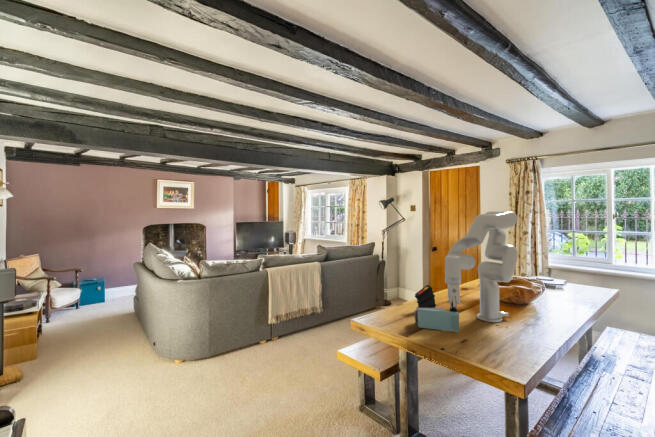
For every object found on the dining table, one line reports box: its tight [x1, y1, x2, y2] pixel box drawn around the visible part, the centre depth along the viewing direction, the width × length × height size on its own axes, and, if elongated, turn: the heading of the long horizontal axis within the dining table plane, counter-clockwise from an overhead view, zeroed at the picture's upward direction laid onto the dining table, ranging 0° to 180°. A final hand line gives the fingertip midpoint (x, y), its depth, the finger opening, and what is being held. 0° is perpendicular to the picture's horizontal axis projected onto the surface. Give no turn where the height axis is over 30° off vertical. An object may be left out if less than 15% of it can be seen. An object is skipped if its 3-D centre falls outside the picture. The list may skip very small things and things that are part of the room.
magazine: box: [414, 284, 437, 308], centre depth 183 cm, size 4×13×15 cm, turn 113°
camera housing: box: [413, 307, 446, 325], centre depth 161 cm, size 15×7×8 cm, turn 85°
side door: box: [417, 308, 460, 333], centre depth 153 cm, size 20×2×10 cm, turn 69°
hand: (453, 315), depth 154 cm, fingers closed
